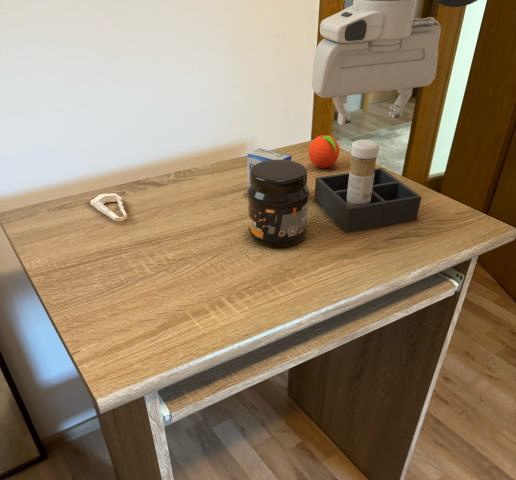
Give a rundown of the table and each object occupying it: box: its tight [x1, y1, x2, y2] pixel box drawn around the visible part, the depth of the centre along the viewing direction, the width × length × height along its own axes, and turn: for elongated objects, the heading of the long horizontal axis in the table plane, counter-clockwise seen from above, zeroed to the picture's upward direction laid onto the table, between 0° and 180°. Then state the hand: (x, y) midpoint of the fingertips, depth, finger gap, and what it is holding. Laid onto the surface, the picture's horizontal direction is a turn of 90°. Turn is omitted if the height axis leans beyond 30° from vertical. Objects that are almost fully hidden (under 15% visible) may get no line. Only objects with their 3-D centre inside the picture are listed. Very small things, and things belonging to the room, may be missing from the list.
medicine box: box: [246, 147, 292, 188], centre depth 98 cm, size 8×4×9 cm, turn 55°
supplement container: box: [246, 160, 310, 248], centre depth 84 cm, size 10×10×12 cm
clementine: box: [308, 134, 340, 169], centre depth 109 cm, size 8×7×7 cm
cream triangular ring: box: [89, 192, 128, 222], centre depth 96 cm, size 13×5×2 cm, turn 38°
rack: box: [313, 167, 422, 233], centre depth 94 cm, size 15×15×5 cm
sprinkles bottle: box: [346, 139, 380, 207], centre depth 87 cm, size 5×5×13 cm
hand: (369, 120), depth 80 cm, fingers open, 8 cm apart
